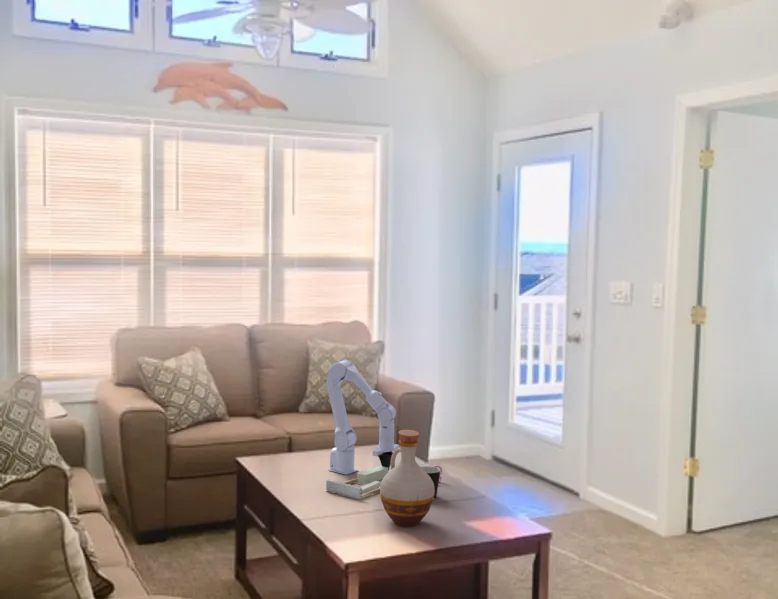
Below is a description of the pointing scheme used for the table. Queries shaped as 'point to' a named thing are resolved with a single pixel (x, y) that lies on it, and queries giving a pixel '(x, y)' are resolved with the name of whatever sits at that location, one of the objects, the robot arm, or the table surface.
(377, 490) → the organizer
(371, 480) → the sage bar
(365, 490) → the white bar
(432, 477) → the coffee mug
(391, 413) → the robot arm
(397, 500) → the jug
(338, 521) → the table surface
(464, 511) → the table surface
